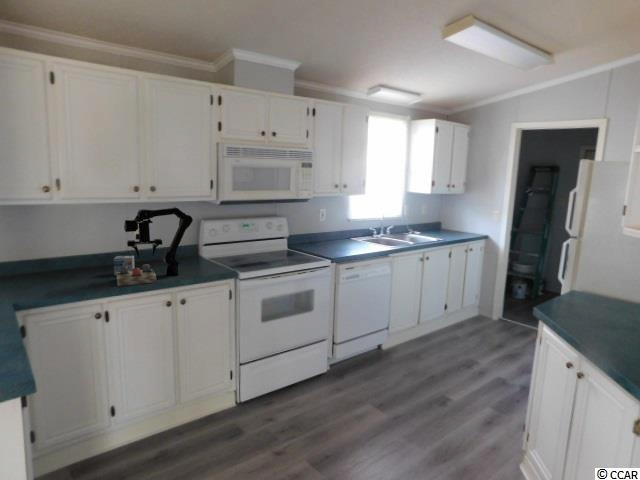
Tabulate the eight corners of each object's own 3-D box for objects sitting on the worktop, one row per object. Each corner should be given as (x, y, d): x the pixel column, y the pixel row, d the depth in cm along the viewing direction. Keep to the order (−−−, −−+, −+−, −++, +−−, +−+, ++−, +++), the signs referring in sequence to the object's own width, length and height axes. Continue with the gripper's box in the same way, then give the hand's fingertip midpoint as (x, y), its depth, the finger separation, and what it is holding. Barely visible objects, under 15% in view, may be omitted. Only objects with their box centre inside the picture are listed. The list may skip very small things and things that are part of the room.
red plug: (140, 275, 234) (139, 267, 233) (140, 276, 231) (140, 269, 230) (132, 275, 232) (132, 268, 232) (133, 277, 229) (132, 269, 228)
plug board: (153, 275, 247) (152, 269, 247) (156, 282, 233) (156, 275, 233) (116, 279, 238) (116, 272, 237) (117, 285, 224) (117, 278, 223)
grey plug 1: (127, 273, 238) (127, 265, 238) (128, 274, 235) (127, 267, 234) (120, 273, 236) (119, 266, 236) (120, 275, 233) (120, 267, 232)
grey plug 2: (149, 271, 244) (149, 264, 243) (150, 272, 240) (150, 265, 240) (142, 271, 242) (142, 264, 241) (143, 273, 239) (142, 265, 238)
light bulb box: (114, 275, 246) (113, 258, 244) (116, 272, 252) (115, 255, 250) (133, 274, 249) (132, 257, 247) (135, 272, 255) (134, 255, 253)
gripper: (159, 228, 249) (160, 253, 251) (125, 229, 240) (127, 255, 242) (161, 230, 239) (163, 256, 242) (127, 232, 230) (128, 259, 233)
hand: (145, 256), depth 240 cm, fingers open, 7 cm apart
